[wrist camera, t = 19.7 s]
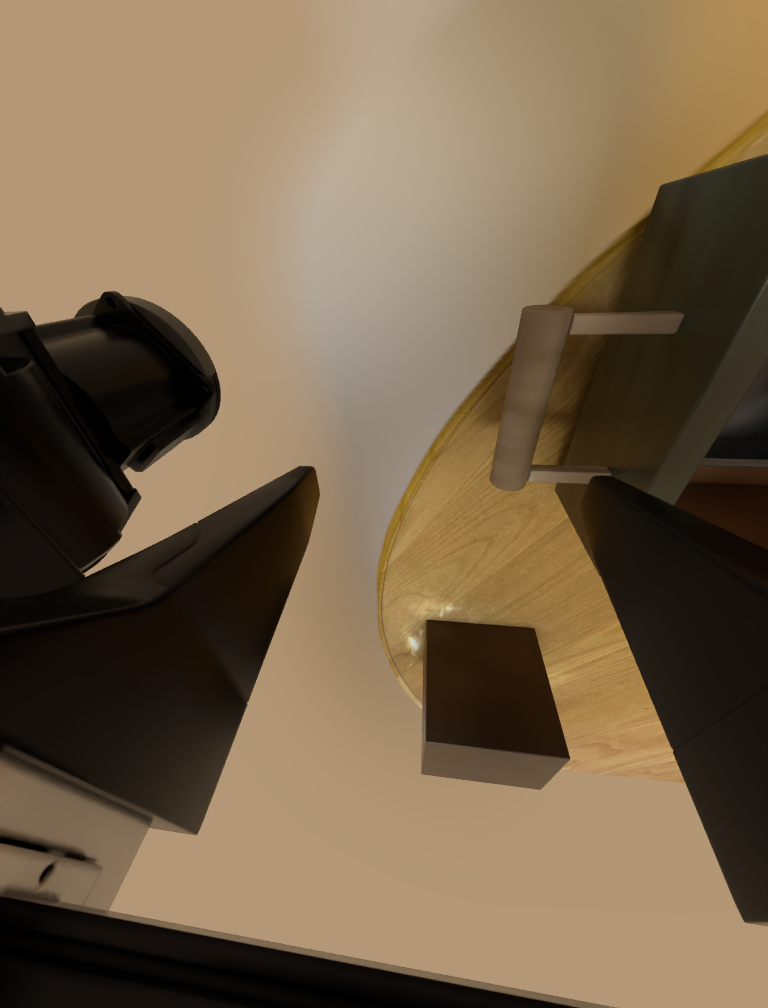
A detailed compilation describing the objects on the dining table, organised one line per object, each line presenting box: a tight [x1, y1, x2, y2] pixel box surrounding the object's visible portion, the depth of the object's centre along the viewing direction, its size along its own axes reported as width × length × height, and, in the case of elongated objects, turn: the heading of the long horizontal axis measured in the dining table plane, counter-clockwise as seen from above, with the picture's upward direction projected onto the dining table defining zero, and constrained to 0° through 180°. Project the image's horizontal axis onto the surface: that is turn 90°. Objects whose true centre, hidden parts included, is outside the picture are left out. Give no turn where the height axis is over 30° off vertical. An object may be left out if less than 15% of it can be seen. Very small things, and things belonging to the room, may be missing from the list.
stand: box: [421, 620, 570, 790], centre depth 30 cm, size 10×8×10 cm
